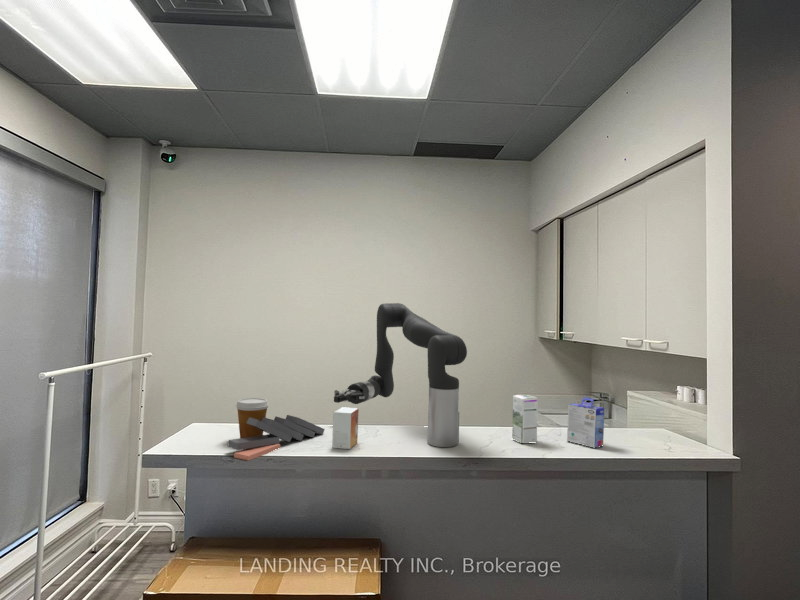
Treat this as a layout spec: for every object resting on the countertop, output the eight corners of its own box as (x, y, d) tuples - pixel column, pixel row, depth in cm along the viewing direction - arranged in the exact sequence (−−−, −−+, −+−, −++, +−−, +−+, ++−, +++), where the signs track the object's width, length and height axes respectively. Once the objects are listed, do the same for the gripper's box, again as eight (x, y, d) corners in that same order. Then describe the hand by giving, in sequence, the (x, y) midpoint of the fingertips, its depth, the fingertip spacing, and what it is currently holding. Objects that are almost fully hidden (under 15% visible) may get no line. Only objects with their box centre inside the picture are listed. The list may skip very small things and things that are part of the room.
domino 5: (305, 429, 157) (275, 416, 148) (315, 432, 154) (285, 419, 145) (303, 434, 156) (273, 422, 148) (313, 438, 153) (283, 425, 144)
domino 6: (313, 426, 161) (287, 414, 151) (324, 429, 158) (298, 417, 149) (311, 431, 160) (284, 420, 151) (322, 434, 158) (296, 423, 148)
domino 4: (293, 432, 153) (263, 416, 145) (303, 435, 150) (272, 419, 141) (291, 437, 152) (260, 422, 144) (301, 441, 149) (270, 425, 141)
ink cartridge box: (604, 446, 154) (605, 400, 154) (595, 449, 150) (596, 402, 151) (575, 439, 162) (576, 395, 162) (566, 442, 158) (567, 396, 158)
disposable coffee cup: (228, 443, 144) (230, 402, 145) (244, 435, 154) (245, 396, 154) (258, 446, 143) (260, 404, 143) (272, 437, 152) (274, 398, 152)
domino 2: (269, 434, 145) (228, 439, 136) (279, 437, 142) (237, 443, 132) (269, 440, 145) (228, 446, 136) (279, 443, 142) (237, 450, 132)
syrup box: (537, 443, 155) (538, 397, 155) (521, 445, 153) (523, 398, 153) (526, 438, 160) (527, 394, 160) (511, 440, 158) (512, 394, 158)
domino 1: (282, 433, 149) (249, 417, 141) (292, 436, 146) (258, 419, 138) (280, 439, 148) (246, 423, 140) (289, 442, 145) (255, 426, 137)
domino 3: (266, 441, 143) (234, 453, 131) (280, 444, 141) (248, 456, 129) (266, 447, 143) (233, 459, 131) (280, 450, 141) (248, 462, 129)
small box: (350, 449, 142) (351, 413, 142) (331, 448, 143) (332, 411, 143) (358, 442, 150) (359, 407, 150) (340, 441, 151) (341, 406, 151)
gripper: (346, 380, 188) (320, 386, 172) (376, 383, 182) (353, 390, 167) (345, 400, 188) (319, 408, 172) (376, 404, 182) (352, 412, 166)
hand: (336, 399), depth 169 cm, fingers closed
